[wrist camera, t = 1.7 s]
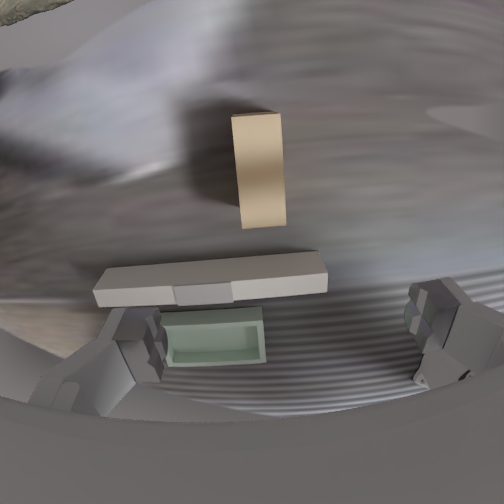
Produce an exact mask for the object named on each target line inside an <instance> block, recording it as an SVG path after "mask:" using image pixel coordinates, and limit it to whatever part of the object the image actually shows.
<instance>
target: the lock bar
mask: <svg viewBox="0 0 504 504" xmlns="http://www.w3.org/2000/svg"><path fill="white" fill-rule="evenodd" d="M231 120H232V131H233V141H234V151H235V161H236V172H237V182H238V192H239V202H240V212H241V221H242V229H247V228H259V227H272V226H284V225H286V204H285V184H284V165H283V148H282V132H281V117H280V113H277V112H274V111H273V112H257V113H245V114H234V115H233V116H232V117H231Z"/></svg>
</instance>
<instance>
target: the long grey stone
mask: <svg viewBox="0 0 504 504" xmlns="http://www.w3.org/2000/svg"><path fill="white" fill-rule="evenodd" d="M71 1H74V0H0V26H4V25H7V26H9V25H12V24H14V23H16V22H17V21H21V20H24V19H26V18H28V17H29V16H31V15H34V14H38V13H40V12H45V11H49V10H53V9H55V8H57V7H60V6H61V5H64V4H67V3H69V2H71Z"/></svg>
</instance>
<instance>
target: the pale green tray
mask: <svg viewBox="0 0 504 504" xmlns="http://www.w3.org/2000/svg"><path fill="white" fill-rule="evenodd" d="M160 314H161V317H162V318H161V322H160V325H162V326H163V327H164V328H165V330H166V333H167V338H168V352H167V357H165V358H166V361H167V364H168V366H169V367H193V366H222V365H240V364H255V363H266V352H265V339H264V326H263V314H262V306H260V307H247V308H234V309H219V310H203V311H185V312H164V313H160Z"/></svg>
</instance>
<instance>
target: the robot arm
mask: <svg viewBox="0 0 504 504" xmlns="http://www.w3.org/2000/svg"><path fill="white" fill-rule="evenodd" d="M408 295H409V296H410V298H411V299H410V301H409V302H408V303H407V304H406V306H405V311H404V319H405V324H406V327H407V329H408V330H409V332H411V333H413V334H414V335H416V336H415V340H414V341H415V342H416V344H417V346H418V348H419V349H420V351H421V353H422V354H424V353H425V354H424V356H423V358H422V362H421V365H420V368H419V369H418V371H417V372H416V374H415V375H414V377H413V380H414V382H415V383H416V384H418V385H421V386H423V387H425V388H428V389H429V390H428V391H425V392H421V393H418V394H414V395H410V396H407V397H403V398H399V399H395V400H390V401H386V402H382V403H377V404H372V405H368V406H363V407H358V408H352V409H347V410H341V411H335V412H329V413H322V414H315V415H308V416H300V417H291V418H281V419H270V420H257V421H240V422H202V423H201V422H199V423H198V422H161V421H144V420H131V419H120V418H110V417H105V416H106V415H107V414H108V413H109V412H110V411H111V410H112V409H113V408H114V407H115V406H116V404H117V403H118V402H119V401H120V400H121V399H122V398H123V397H124V396H125V395H126V394H127V393H128V391H129V390H130V389H131V388H132V387H133V386H134V385H135V384H136V383H135V382H161V378H162V374H163V369H164V365H163V362H162V360H163V359H164V358H165V357H167V352H168V338H167V333H166V330H165V328H164V327H163V326H162V325H160V322H161V318H162V317H161V314H160V311H159V309H158V308H157V307H136V308H114V309H112V310H111V312H110V314H109V316H108V318H107V320H106V322H105V324H104V326H103V328H102V330H101V332H100V334H99V336H98V338H97V340H92V341H90V342H89V343H88V344H86V345H85V346H83V347H82V348H80V349H79V350H78V351H76V352H75V353H73V354H72V355H71V356H69V357H68V358H66V359H65V360H64V361H62V362H61V363H59V364H58V365H57V366H55V367H54V368H52V369H51V370H50V371H48V372H47V373H45V374H44V375H43V376H41V377H40V380H39V381H38V383H37V385H36V387H35V389H34V391H33V393H32V395H31V397H30V399H29V401H28V403H25V402H21V401H16V400H13V399H9V398H5V397H1V396H0V504H504V314H503V313H500V312H498V311H496V310H494V309H492V308H489V307H487V306H485V305H483V304H481V303H478V302H473V301H472V300H471V299H470V298H469V297H468V296H467V294H466V293H465V292H464V291H463V290H462V289H461V288H460V287H459V286H458V285H457V283H456V282H455V281H454V280H453V279H452V278H450V277H445V278H440V279H436V280H431V281H425V282H418V283H412V284H411V286H410V288H409V293H408Z"/></svg>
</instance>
